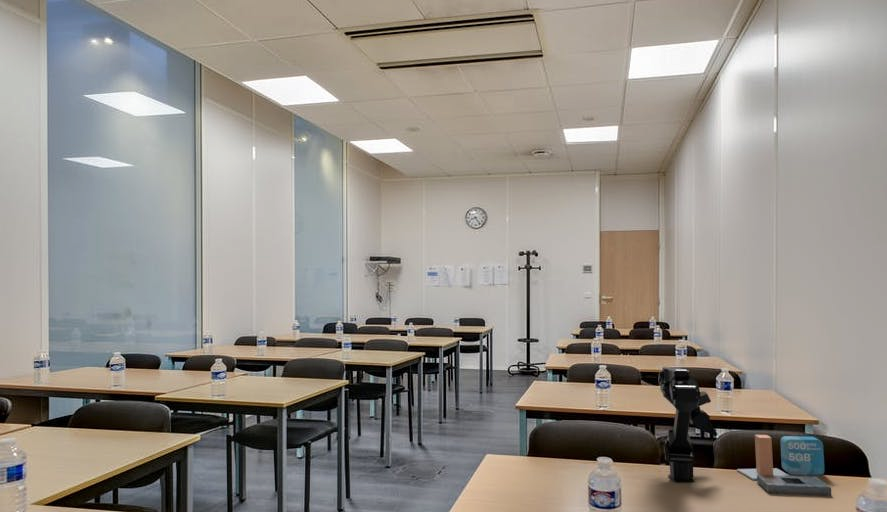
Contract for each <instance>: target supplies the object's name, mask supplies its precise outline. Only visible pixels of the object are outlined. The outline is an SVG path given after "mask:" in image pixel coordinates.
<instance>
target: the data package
mask: <svg viewBox="0 0 887 512" xmlns="http://www.w3.org/2000/svg"><path fill="white" fill-rule="evenodd" d="M779 441H780V458H781V459H780V460H781V468H782V469H783V471H785V473H786V472H787V474H788V475H791V476H802V475H803V476H822V475H824V473H825V456H824V455H825V454H824V444H823V441H822V440H821V439H819V438H816V437H814V436H798V435H797V436H794V435H788V436H787V435H784V436H781V438H780V440H779Z"/></svg>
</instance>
